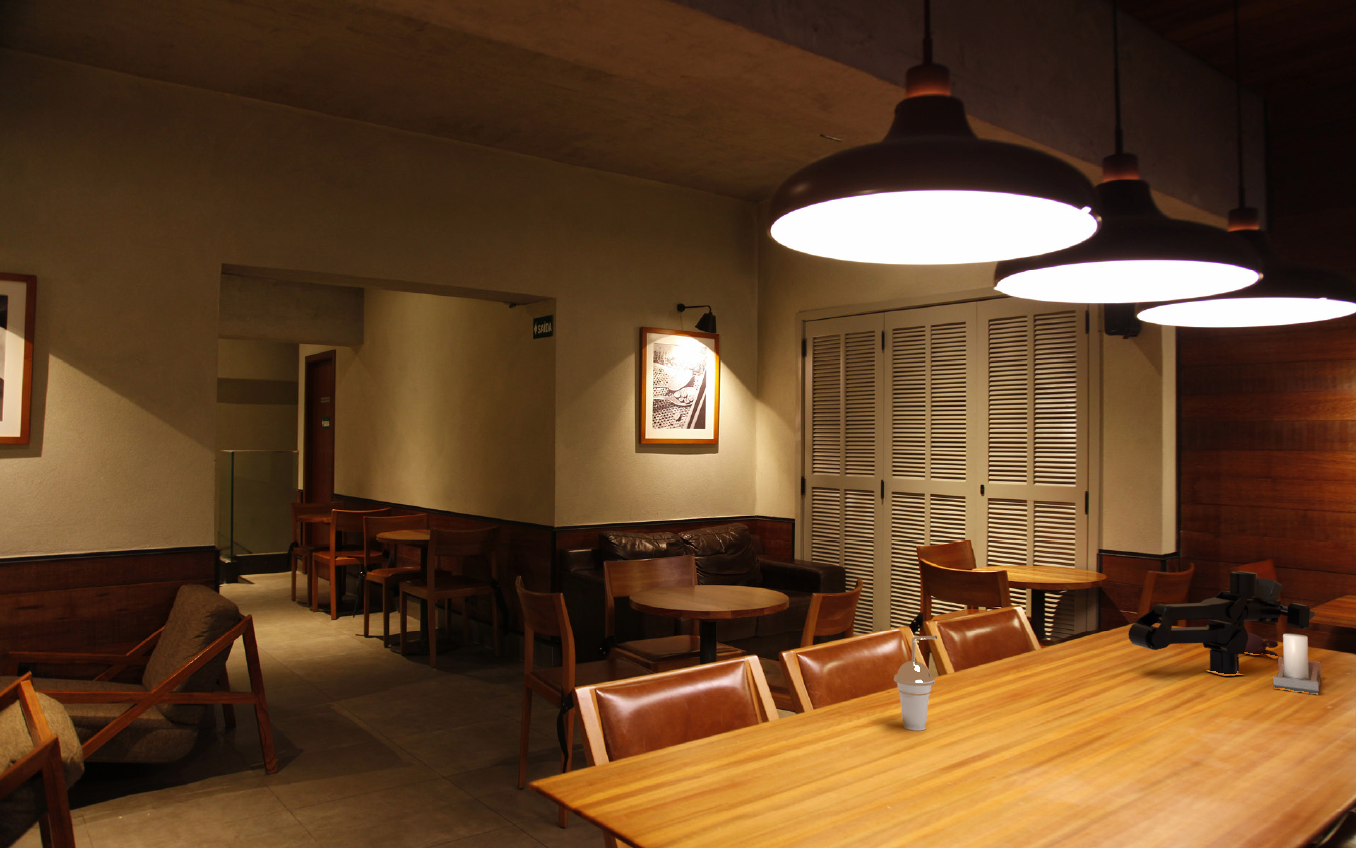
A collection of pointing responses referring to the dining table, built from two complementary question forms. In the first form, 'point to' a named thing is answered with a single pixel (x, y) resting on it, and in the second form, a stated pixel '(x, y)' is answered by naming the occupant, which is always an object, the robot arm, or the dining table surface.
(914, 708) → the cup with straw
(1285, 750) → the dining table surface
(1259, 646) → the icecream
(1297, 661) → the white cylinder
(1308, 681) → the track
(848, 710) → the dining table surface
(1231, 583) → the robot arm
